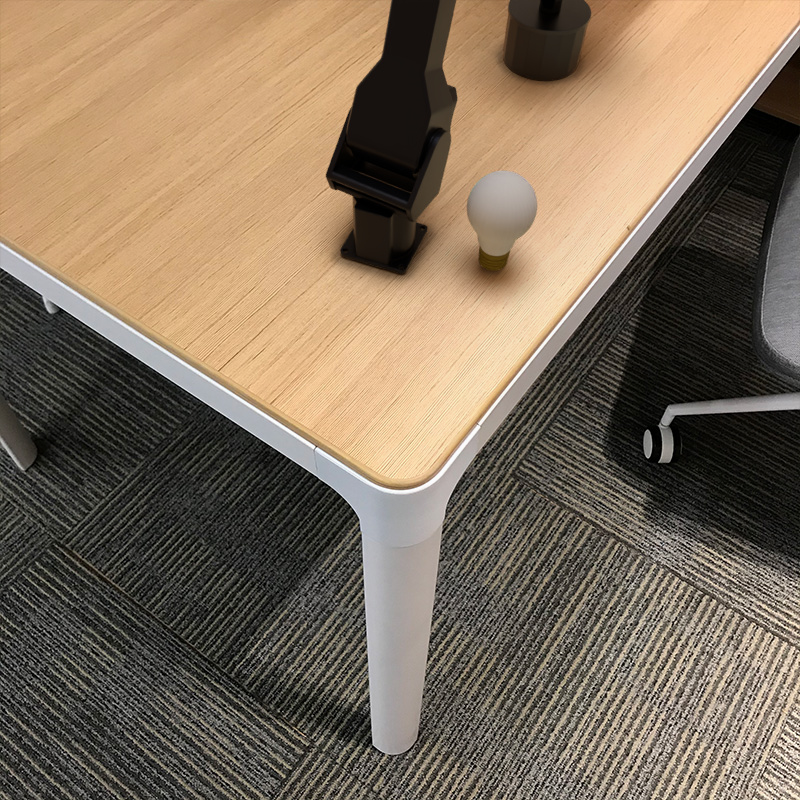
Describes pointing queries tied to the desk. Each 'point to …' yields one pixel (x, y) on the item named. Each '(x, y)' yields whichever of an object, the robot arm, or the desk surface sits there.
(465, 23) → the desk surface
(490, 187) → the light bulb
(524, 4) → the bin lid
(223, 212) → the desk surface
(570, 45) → the bin
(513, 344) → the desk surface
